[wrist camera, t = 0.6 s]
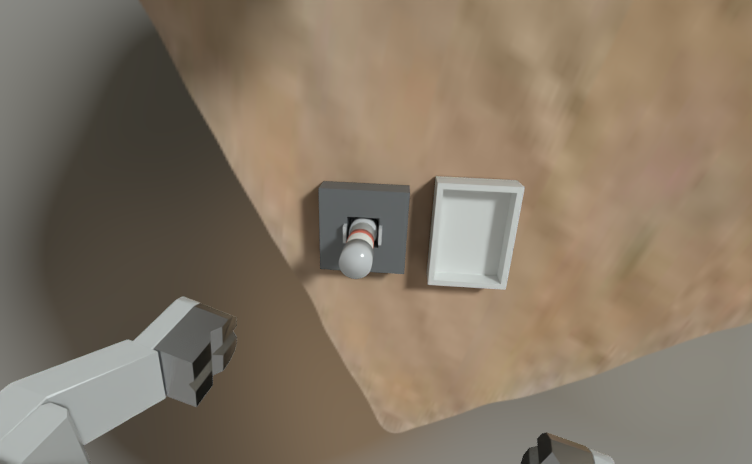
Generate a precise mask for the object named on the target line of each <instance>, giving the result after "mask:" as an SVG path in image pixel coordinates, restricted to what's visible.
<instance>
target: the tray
mask: <svg viewBox="0 0 752 464" xmlns="http://www.w3.org/2000/svg"><path fill="white" fill-rule="evenodd" d="M524 188H525V187H524V186H523V185H522V184H521V183H520V182H519V181H517V180H502V179H482V178H461V177H441V176H436V179H435V189H434V200H433V210H432V221H431V231H430V242H429V252H428V263H427V281H428V285H440V286H456V287H472V288H488V289H504V290H506V285H507V280H508V274H509V269H510V264H511V258H512V253H513V247H514V242H515V237H516V231H517V226H518V220H519V215H520V210H521V204H522V199H523V193H524Z"/></svg>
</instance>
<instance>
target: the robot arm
mask: <svg viewBox="0 0 752 464" xmlns="http://www.w3.org/2000/svg"><path fill="white" fill-rule="evenodd" d="M236 319H237V318H236V317H234V316H232V315H229V314H227V313H224V312H222V311H219V310H216V309H214V308H212V307H209V306H207V305H204V304H202V303H199V302H197V301H194V300H191V299H189V298H186V297H181V298H179V299H177V300H175V301H174V302H173V303H172V304H171V305H170V306H169V307H168V308H167V309H166V310H165V311H164V312H163V313H162V314H161V315H160V316H159V317H158V318H157V319H156V320H155V321H153V322H152V323H151V324H150V325H149V326H148V327H147V328H146V329H145V330H144V331H143V332H142V333H141V334H140V335H139V336H138V337H137V338H136V339H135V340H134V341H131V340H128V339H127V340H125V341H122V342H120V343H117V344H114V345H112V346H109V347H106V348H103V349H100V350H98V351H95V352H92V353H90V354H87V355H84V356H82V357H79V358H77V359H74V360H71V361H68V362H66V363H63V364H60V365H57V366H55V367H52V368H49V369H47V370H44V371H41V372H39V373H36V374H33V375H31V376H28V377H26V378H23V379H20V380H17V381H14V382H12V383H10V384H9V385H7V386H6V387H5V388H4V389H2V390H1V391H0V464H91V461H90V459H89V457H88V455H87V452H86V450H85V448H84V445H85V444H87V443H89V442H91V441H92V440H94V439H95V438H97V437H99V436H101V435H103V434H104V433H106V432H108V431H109V430H111V429H113V428H115V427H116V426H118V425H120V424H122V423H123V422H125V421H127V420H128V419H130V418H132V417H134V416H135V415H137V414H139V413H141V412H142V411H144V410H146V409H147V408H149V407H151V406H152V405H154V404H156V403H158V402H160V401H161V400H163V399H165V398H166V396H168V397H171V398H173V399H176V400H179V401H182V402H184V403H187V404H190V405H193V406H195V407H197V406H198V405H199V403H200V402H201V400H202V399H203V398H204V396H205V395H206V394H207V392H208V391H209V390H210V388H211V387H212V385H213V375H215V374H217V373H219V372H221V371H223V370H224V369H225V367H226V366H227V364H228V363H229V361H230V360H231V358H232V355H233V353H234V351H235V347H236V344H237V337H236V335H235V333H234V332H233V330H234V329H235V328H236V326H237V320H236ZM537 443H538V444H537V445H538V446H535V447H531V448H529V449H528V450H527V451H526V452H525V454H524V455H523V458H522V461H521V464H615V462H614V461H613V459H612V458H611V457H610V456H608V455H606V454H603V453H601V452H598V451H595V450H592V449H589V448H587V447H586V446H583V445H580V444H578V443H575V442H572V441H569V440H566V439H563V438H561V437H558V436H555V435H552V434H549V433H542V434H541V435H540V436H539V437H538V438H537Z"/></svg>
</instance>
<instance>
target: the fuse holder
mask: <svg viewBox="0 0 752 464" xmlns="http://www.w3.org/2000/svg"><path fill="white" fill-rule="evenodd" d="M409 197H410V188H409V186H408V185H388V184H369V183H349V182H329V181H323V183H322V184H321V185H320V187H319V229H320V269H329V270H340V268H339V259H340V256H341V253H342V250H343V247H344V245H345V244H346V242H347V239H348V236H349V229H350V226H351V223H352V220H353V219H354V218H355V217H361V218H375V219H376V221H377V223H378V230H377V236H376V239H375V241H374V247H373V253H374V254H373V261H372V267H371V270H370V272H379V273H395V274H404V268H405V254H406V240H407V225H408V211H409Z"/></svg>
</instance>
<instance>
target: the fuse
mask: <svg viewBox="0 0 752 464" xmlns="http://www.w3.org/2000/svg"><path fill="white" fill-rule="evenodd" d="M377 230H378V223H377V221H376V219H375V218H361V217H355V218H354V219H353V220H352V223H351V226H350V229H349V236H348V239H347V242H346V244H345V245H344V247H343V250H342V253H341V256H340V259H339V268H340V270H341V271H342V273H343V274H344V275H346V276H347V277H349V278H353V279H359V278H363V277H365V276H366V275H367V274H368V273H369V272H370V270H371V267H372V261H373V254H374V253H373V247H374V241H375V239H376V236H377Z"/></svg>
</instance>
